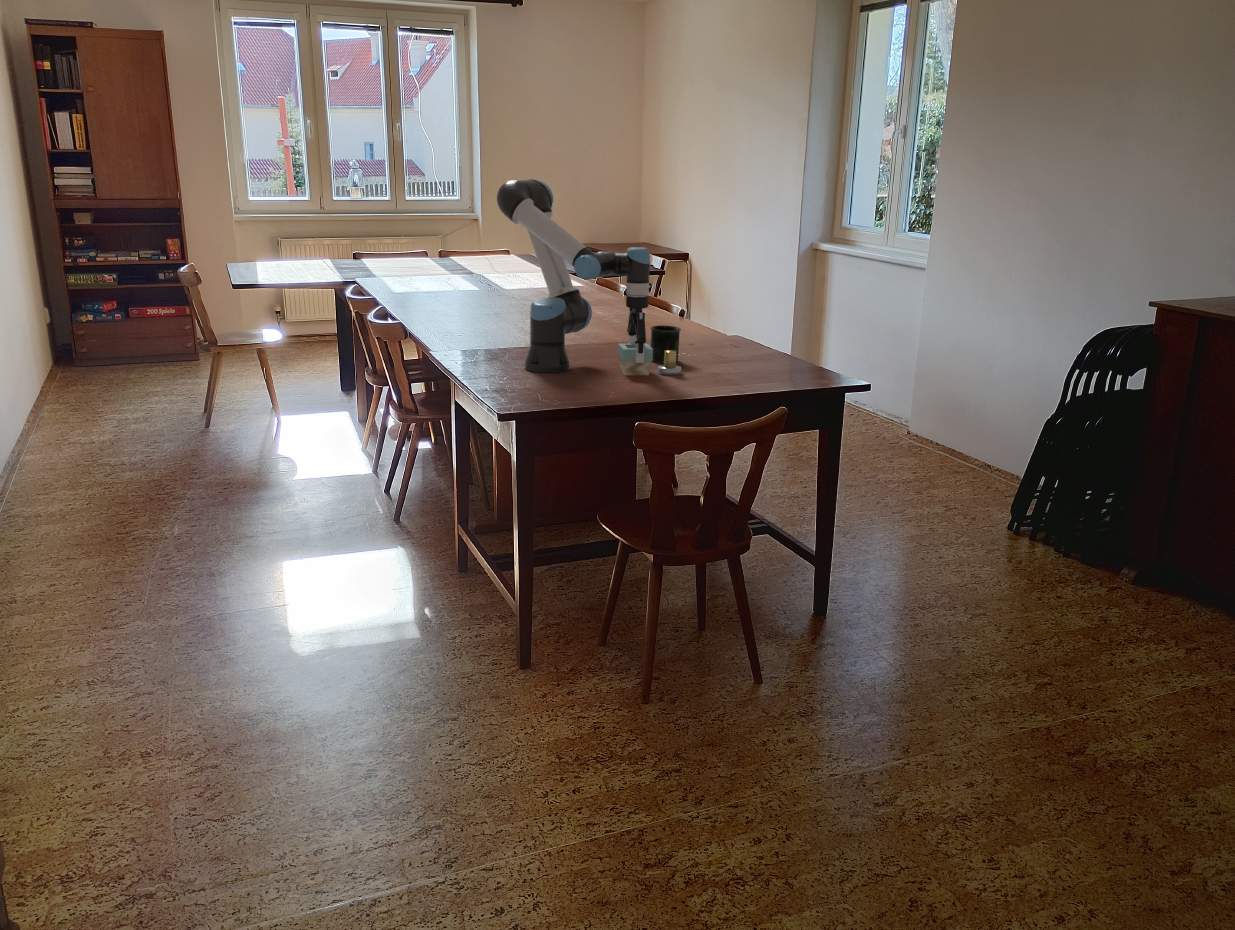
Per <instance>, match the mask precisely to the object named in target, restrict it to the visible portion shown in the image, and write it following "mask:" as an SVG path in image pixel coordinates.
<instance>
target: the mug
mask: <svg viewBox="0 0 1235 930" xmlns="http://www.w3.org/2000/svg"><path fill="white" fill-rule="evenodd" d="M650 330H651V331H650V332H651V333H650V334H651V335H650V347H651V348H652V349H653V361H652V362H653V363H657V364H664V355H665V351H666V350H674V351H676V363H677V362H678V361H679V348H680V347H679V346H680V331H682V329H681V327H679V326H674V325H666V324H665V325H653V326H650Z"/></svg>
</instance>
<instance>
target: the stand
mask: <svg viewBox="0 0 1235 930" xmlns="http://www.w3.org/2000/svg"><path fill="white" fill-rule="evenodd" d="M619 360H620V362H619V363H620V366H619V370H620V371H621V373H622V374H623V375H624V376H650V363H651V361H644V363H636V361H622V359H621V358H620V359H619Z"/></svg>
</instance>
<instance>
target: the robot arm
mask: <svg viewBox="0 0 1235 930" xmlns="http://www.w3.org/2000/svg"><path fill="white" fill-rule="evenodd" d="M496 194H497V195H496V203H497V207H498V208H499V210H500V211H501V213H502V214H503V215H504V216H505V217H507V218H508V219H509V220H510V221H511V222H513V223H514V224H515V225H521V226H523V228H525V229H526V230H527V231H528V235H529V238H530V241H531V245H532V246H533V249H534V253H535V256H536V258H537V261H538V264H539V267H540V270H541V273H542V275H543V280H544V281H545V285H546V287H547V290H548V292H549V294H548V297H541V298H537V299H535V300H533V301H532V303H531V304H530V311H529V316H530V317H529V318H530V322H529V323H530V326H529V327H530V330H529V331H530V337H529V339H530V341H529V342H530V345H529V349H528V352H527V355H526V357H525V358H526V359H525V361H524V369H526V370H527V371H529V372H533V373H543V374H551V373H552V374H554V373H555V374H556V373H564V372H566V371H569V370H570V359H569V356H568V353H567V349H566V347H565V344H566V340H565V339H566V335H567V334H570V333H577V332H580V331H581V330H582V331H583V329H586V328H587V327H588V325H589V324H590V322H591V321H592V317H593V309H592V306H591V304H590V302H589V300H588V299H586V298H584V297H583V296H582V295H581V292H580V290H579V288H577V287H576V286H574V285H573V282H572V279H571V276H570V273H569V270H568V267H567V264H566V262H567V263H568V264H570V265H571V266H572V267H573V269H574V272H575V274H576V276H577V277H578V278H579V279H581V280H594V279H599V278H603V277H609V276H620V277H621V276H622V277H626V281H625V282H626V285H625V287H626V288H625V289H626V290H625V294H626V297H625V306H626V307H627V308H629V314H628V321H627V330H626V332H627V335H628V338H627V339H628V341H627V344H636V363H644V344H646V343H647V335H646V333H647V332H646V321H645V318H646V317H645V316H646V313H645V312H643V309H647V308H649V305H650V304H649V303H650V301H649V299H650V297H649V296H648V295H649V294H650V290H649V289H651V285H650V265H651V259H650V258H651V253H650V249H649V248H647V247H643V246H642V247H640V246H639V247H638V246H636V247H635V246H632V247H628V248H627V250H626V252H615V251H608V250H606V251H598V252H596V253H594V252H593V251H592V250H591V249H590V248H588V247H587V246H586V245H585V244H583V243H582V242H581V241H580V240H578V239H577V238H576V237H575V236H573V235H572V234H571V233H569V232H568V231H567V230H566V229H564V228H563V227H562V226H561V225H559V224H558V223H557V222H556V221H555V220H553V218H552V216H553V214H554V213H553V210H552V207H553V204H554V194H553V191H552V189H551V188H550V186H549V185H548V184H547V183H545V182H543V181H541V180H538V179H532V178H531V179H510V180H507V181H506V182H504V183H502V185H501V186H500V187H499V189H498V191H497V193H496Z"/></svg>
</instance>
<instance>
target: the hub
mask: <svg viewBox="0 0 1235 930" xmlns="http://www.w3.org/2000/svg"><path fill="white" fill-rule="evenodd" d="M657 373H658V374H659V375H661V376H667V377H668V376H671V377H672V376H674V377H675V376H680V375H682V366H679V365H677V362H676V351H674V350H666V351H665V355H664V363H663V364H661V365H660V364H659V365H658V366H657Z"/></svg>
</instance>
